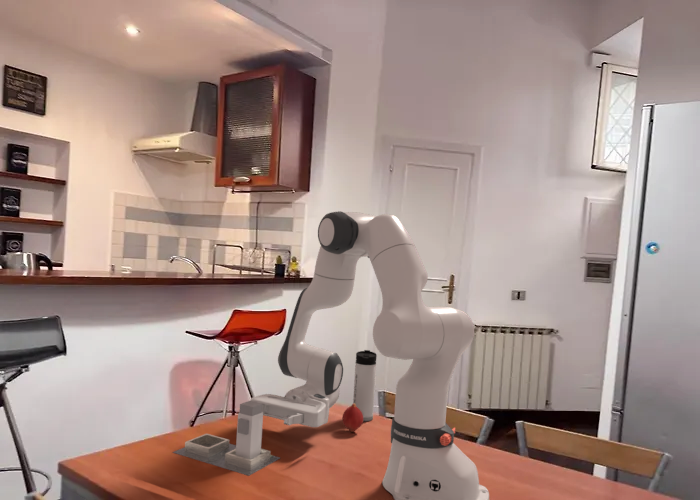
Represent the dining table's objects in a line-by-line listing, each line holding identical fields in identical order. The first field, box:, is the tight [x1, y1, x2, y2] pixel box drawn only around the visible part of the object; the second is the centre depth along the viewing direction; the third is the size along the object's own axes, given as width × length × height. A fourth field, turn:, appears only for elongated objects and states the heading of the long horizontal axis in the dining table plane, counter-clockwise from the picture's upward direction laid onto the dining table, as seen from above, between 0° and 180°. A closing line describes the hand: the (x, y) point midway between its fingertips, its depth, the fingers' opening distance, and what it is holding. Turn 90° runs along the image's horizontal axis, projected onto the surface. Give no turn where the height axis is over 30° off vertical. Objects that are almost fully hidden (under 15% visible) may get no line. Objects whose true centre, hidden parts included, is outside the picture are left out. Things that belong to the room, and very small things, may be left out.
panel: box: [172, 433, 281, 477], centre depth 124 cm, size 22×12×3 cm, turn 63°
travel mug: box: [352, 349, 378, 422], centre depth 161 cm, size 6×7×20 cm
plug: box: [235, 400, 264, 460], centre depth 121 cm, size 4×5×13 cm
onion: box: [342, 402, 364, 433], centre depth 148 cm, size 6×6×8 cm
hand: (269, 417), depth 128 cm, fingers open, 8 cm apart
